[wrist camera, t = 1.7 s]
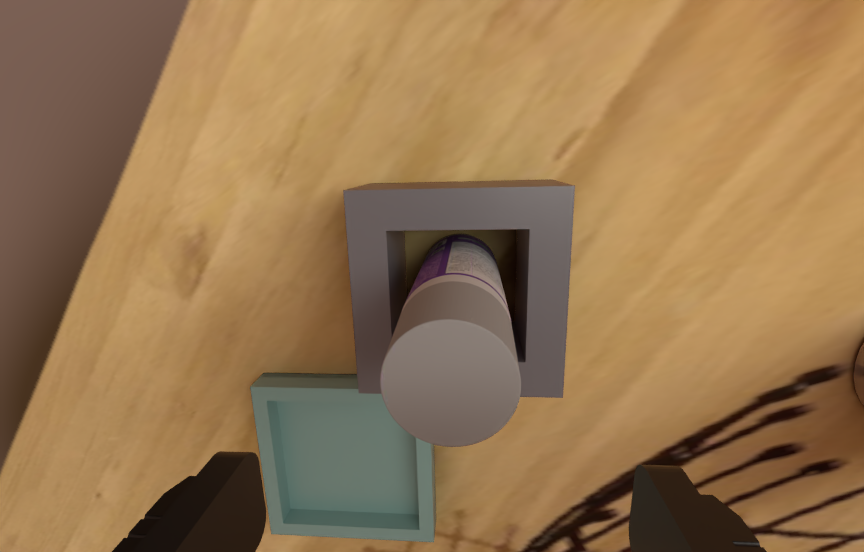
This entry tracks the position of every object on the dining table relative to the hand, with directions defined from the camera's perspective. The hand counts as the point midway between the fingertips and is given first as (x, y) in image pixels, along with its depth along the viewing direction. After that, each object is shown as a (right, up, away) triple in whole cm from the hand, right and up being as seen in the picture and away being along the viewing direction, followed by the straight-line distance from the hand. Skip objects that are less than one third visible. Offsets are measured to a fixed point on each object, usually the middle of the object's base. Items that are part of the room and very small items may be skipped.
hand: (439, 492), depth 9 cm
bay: (+2, +5, +19) cm, 20 cm away
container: (+2, +5, +19) cm, 20 cm away
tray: (-6, -8, +23) cm, 25 cm away
